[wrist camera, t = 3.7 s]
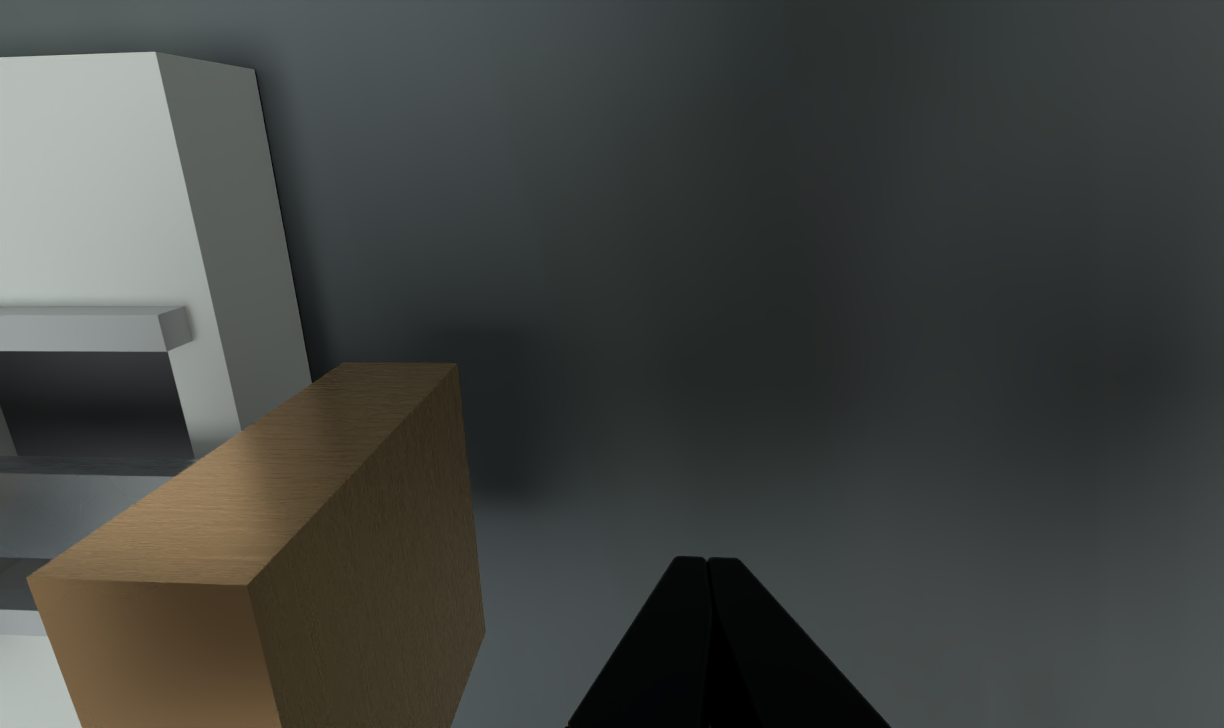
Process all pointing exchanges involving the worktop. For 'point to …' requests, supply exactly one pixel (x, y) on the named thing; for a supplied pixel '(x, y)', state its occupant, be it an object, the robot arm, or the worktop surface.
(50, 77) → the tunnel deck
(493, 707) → the worktop surface
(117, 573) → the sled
